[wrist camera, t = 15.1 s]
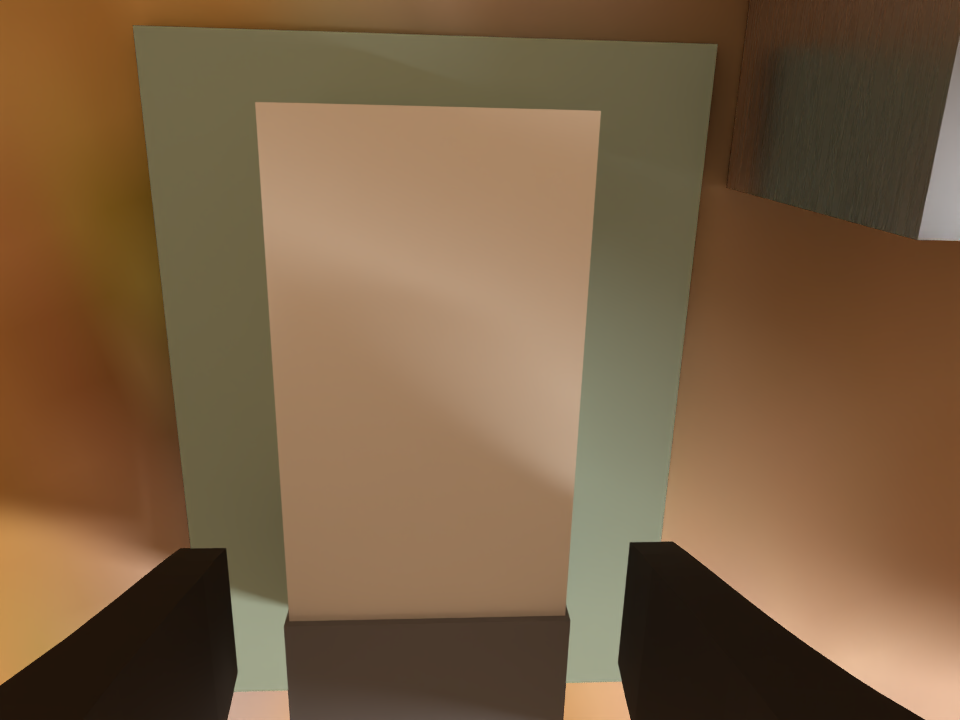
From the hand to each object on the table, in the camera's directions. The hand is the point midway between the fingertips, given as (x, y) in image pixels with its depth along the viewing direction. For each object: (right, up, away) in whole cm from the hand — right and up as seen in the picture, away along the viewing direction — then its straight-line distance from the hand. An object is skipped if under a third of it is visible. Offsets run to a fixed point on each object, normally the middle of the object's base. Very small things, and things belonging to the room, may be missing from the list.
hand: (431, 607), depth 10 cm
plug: (0, +3, +1) cm, 3 cm away
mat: (0, +3, +2) cm, 3 cm away
